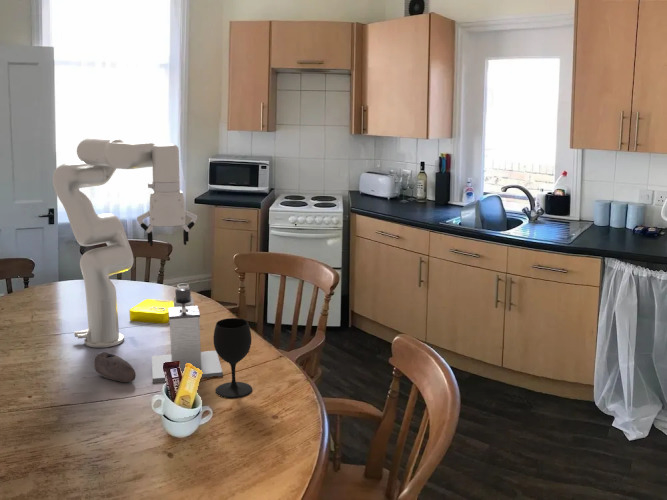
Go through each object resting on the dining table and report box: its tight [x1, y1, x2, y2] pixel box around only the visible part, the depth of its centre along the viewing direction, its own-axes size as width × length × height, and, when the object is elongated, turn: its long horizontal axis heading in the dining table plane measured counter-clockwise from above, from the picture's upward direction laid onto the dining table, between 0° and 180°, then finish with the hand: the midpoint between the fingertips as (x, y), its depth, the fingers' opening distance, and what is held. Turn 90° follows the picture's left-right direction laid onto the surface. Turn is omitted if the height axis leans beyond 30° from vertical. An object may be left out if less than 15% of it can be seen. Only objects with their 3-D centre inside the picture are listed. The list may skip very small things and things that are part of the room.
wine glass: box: [213, 317, 253, 399], centre depth 204 cm, size 10×10×20 cm
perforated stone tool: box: [94, 351, 137, 383], centre depth 213 cm, size 15×5×7 cm, turn 56°
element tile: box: [128, 298, 174, 325], centre depth 269 cm, size 15×15×5 cm
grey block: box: [168, 305, 202, 370], centre depth 222 cm, size 9×12×17 cm
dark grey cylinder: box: [174, 287, 192, 312], centre depth 219 cm, size 4×4×20 cm
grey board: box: [151, 350, 223, 383], centre depth 223 cm, size 20×18×1 cm
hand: (168, 244), depth 216 cm, fingers open, 9 cm apart
